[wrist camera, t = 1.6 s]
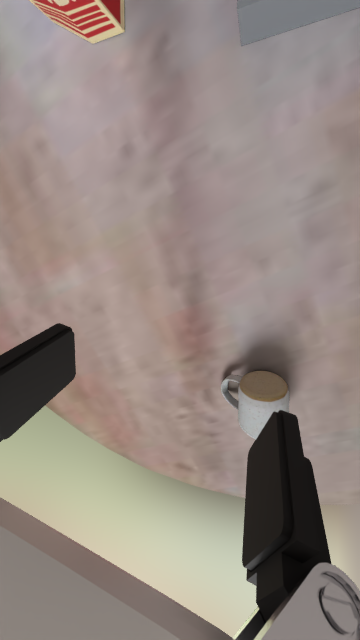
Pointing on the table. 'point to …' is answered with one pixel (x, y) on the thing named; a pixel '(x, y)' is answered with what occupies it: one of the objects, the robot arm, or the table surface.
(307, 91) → the table surface
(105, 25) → the milk carton
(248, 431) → the ceramic mug
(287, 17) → the switch unit
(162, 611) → the robot arm
